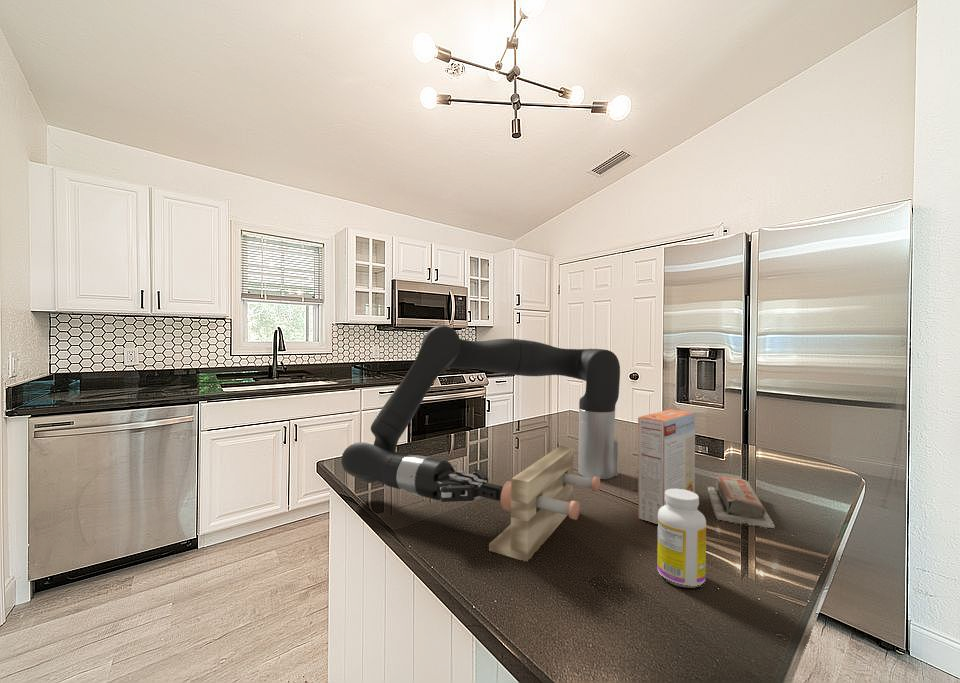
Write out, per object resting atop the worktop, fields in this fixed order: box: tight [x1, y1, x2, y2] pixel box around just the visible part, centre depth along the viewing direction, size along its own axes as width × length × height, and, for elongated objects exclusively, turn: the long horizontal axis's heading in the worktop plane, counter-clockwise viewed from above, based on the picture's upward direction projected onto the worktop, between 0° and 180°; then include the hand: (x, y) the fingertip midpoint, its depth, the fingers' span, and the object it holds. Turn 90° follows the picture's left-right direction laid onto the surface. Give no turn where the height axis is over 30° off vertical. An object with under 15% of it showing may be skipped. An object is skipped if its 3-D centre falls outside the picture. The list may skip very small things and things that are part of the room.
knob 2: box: [535, 460, 601, 493], centre depth 84 cm, size 13×5×5 cm, turn 60°
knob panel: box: [488, 445, 574, 563], centre depth 79 cm, size 7×24×13 cm, turn 150°
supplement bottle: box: [656, 489, 707, 586], centre depth 63 cm, size 7×7×13 cm
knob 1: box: [500, 480, 581, 521], centre depth 71 cm, size 13×5×5 cm, turn 60°
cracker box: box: [637, 408, 696, 524], centre depth 86 cm, size 14×6×21 cm, turn 131°
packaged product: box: [707, 475, 776, 529], centre depth 90 cm, size 18×5×10 cm
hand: (502, 493), depth 75 cm, fingers closed
